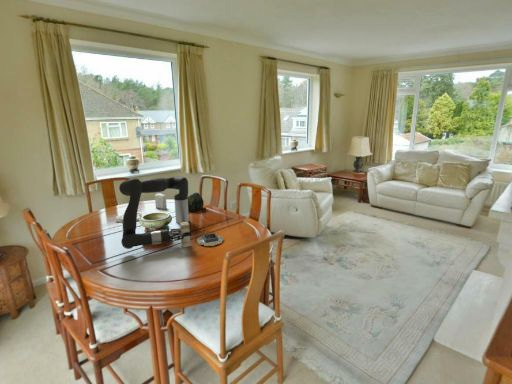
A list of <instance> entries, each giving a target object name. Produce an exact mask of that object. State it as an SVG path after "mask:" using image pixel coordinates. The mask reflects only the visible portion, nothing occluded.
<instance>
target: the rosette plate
mask: <svg viewBox="0 0 512 384" xmlns="http://www.w3.org/2000/svg"><path fill="white" fill-rule="evenodd" d="M222 241H223V242H224V237H223V236H221V235H219V234H216V233H215V232H213V233H212V232H211V233H205V234H202V235H200V236H199V237H197V239H196V243H197V244H198V245H199V244H200V245H199V246H201V245H204V246H203V247H205V246H211V245H216V244H219V243H221V242H222ZM223 242H222V243H223ZM222 243H221V244H222Z"/></svg>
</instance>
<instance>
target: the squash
mask: <svg viewBox="0 0 512 384" xmlns="http://www.w3.org/2000/svg"><path fill="white" fill-rule="evenodd" d="M204 203H205V202H204V199H203V197H202V196H201V194H200V193H199V192H194V193H192V194H191V195H188V211H197V210H201V209H203V208H204Z"/></svg>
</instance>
